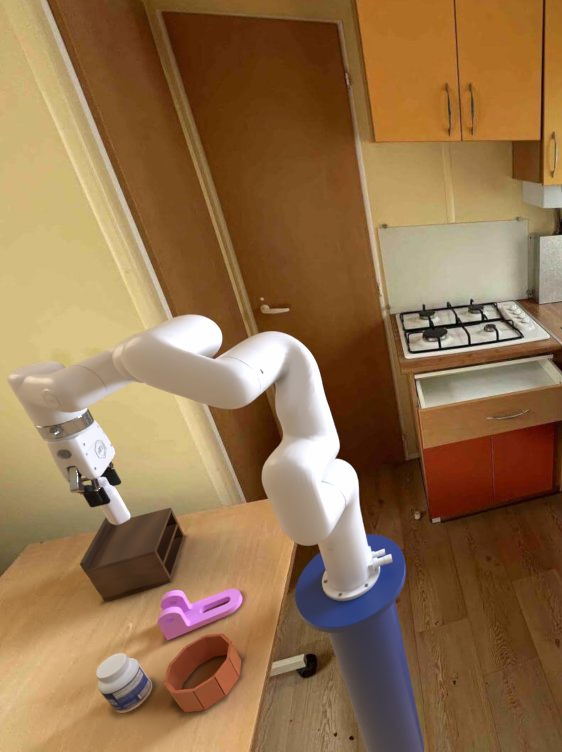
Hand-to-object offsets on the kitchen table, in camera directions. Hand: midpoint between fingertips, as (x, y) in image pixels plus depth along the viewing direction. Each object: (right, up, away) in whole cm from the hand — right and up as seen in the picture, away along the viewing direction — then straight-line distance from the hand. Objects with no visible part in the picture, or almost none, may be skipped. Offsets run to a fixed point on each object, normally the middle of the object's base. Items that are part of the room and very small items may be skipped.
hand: (106, 494), depth 89 cm
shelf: (0, -20, +10) cm, 23 cm away
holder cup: (+30, -31, -12) cm, 45 cm away
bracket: (+21, -25, 0) cm, 33 cm away
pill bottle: (+18, -32, -14) cm, 40 cm away
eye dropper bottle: (0, -6, +3) cm, 7 cm away
